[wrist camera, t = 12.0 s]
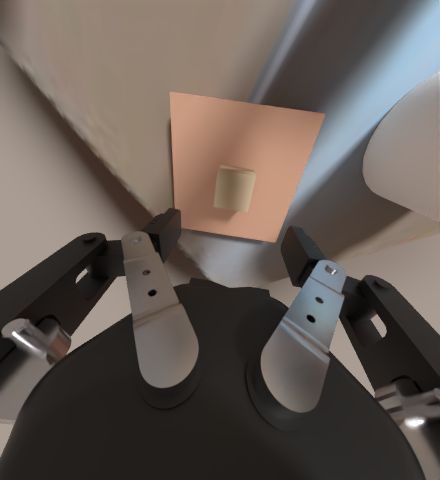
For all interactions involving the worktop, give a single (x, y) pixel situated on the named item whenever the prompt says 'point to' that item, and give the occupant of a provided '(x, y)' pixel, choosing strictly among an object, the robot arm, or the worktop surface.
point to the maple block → (234, 187)
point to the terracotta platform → (238, 161)
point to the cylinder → (408, 151)
